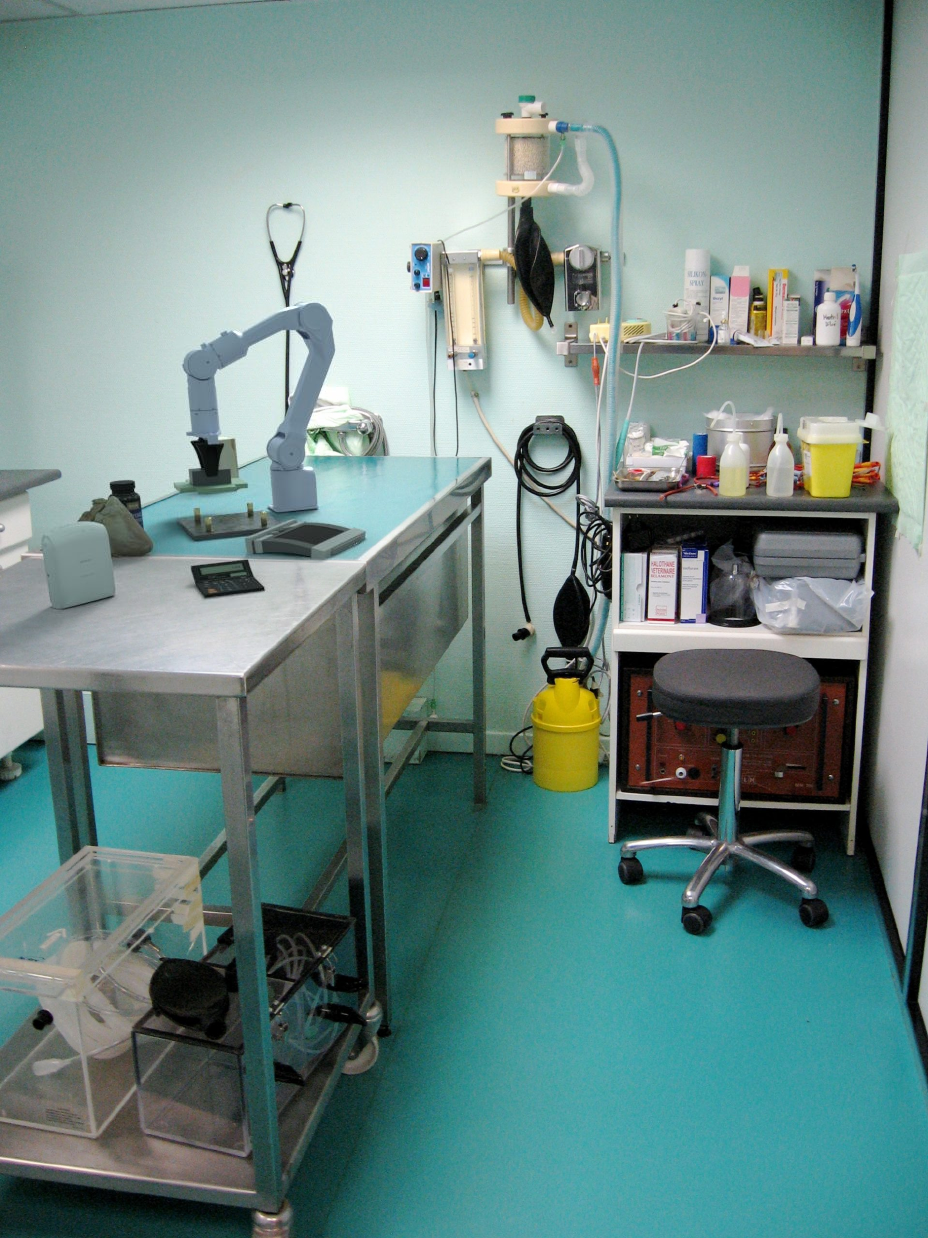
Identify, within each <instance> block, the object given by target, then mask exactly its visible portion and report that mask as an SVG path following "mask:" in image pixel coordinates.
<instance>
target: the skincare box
mask: <svg viewBox="0 0 928 1238" xmlns="http://www.w3.org/2000/svg"><path fill="white" fill-rule="evenodd" d="M218 443H224V447H223V449H222V452H221V455H220V460H219V467H223V466H227V467H228V468H230V470H231V478H240V473H239V464H238V463H239V461H238V454H237V453H238V452H237V443H236V438H235V437H230V436H218Z"/></svg>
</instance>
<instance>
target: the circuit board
mask: <svg viewBox="0 0 928 1238" xmlns="http://www.w3.org/2000/svg"><path fill="white" fill-rule="evenodd" d="M173 488H174V489H175V490H176V491H178V492H179V494H188V493H196V494H197V495H208V494H219V493H232V492H233V493H236V492H237V491H238V490H241V489H249V483H248V482H246V481H245V480H243V479H242V478H240V477H239V478H231V470H230V468H228V467H227V466H223V467H219V469H218V475H217V476H214V477H207V475H206V472H205V469H204V468H201V467H197V468H188V479H185V481H181V482H173Z"/></svg>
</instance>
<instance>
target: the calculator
mask: <svg viewBox="0 0 928 1238" xmlns="http://www.w3.org/2000/svg"><path fill="white" fill-rule="evenodd" d="M251 567H252V566H251V565H250V562H249V559H248V558H247V559H239V560H230V561H222V562H213V563H204V564H196V565H190V571H191V574H192V577H193V580H194V583H195V584H194V585H195V587H196V588H197V589H198V591H199V592H200V594H201V595H202V596H203V597H204V599H210V598H217V597H225V596H226V597H227V596H233V595H242V594H248V593H255V592H257V593H258V592H263V591H264V592H265V589H266V588H265V586H264V585H263V584H262V583H261V581H259V580H258V579H257V578H256V577H255V576H254V573H253V570H252V568H251Z"/></svg>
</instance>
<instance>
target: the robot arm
mask: <svg viewBox="0 0 928 1238" xmlns="http://www.w3.org/2000/svg"><path fill="white" fill-rule="evenodd" d="M333 321H334V320H333V318H332V316H331V315H330V313H329V310H328V309H327V308H326V307H325V305H323V304H322V303H321V302H317V301H311V302H306V301H305V302H304V301H300V302H297V303H295V304H294V305H292V306H286V307H284V308H282V309H280V310H277V311H275V312H273V313H272V314H271V315H269V316H267V317H266V318H263V319H262V320H261V321H259V322H257V323H255V324H254V325H251V327H248V328H247V329H245V330H243V331H242V332H238V331H235V330H230V331H228V330H223V331H222V332H220V336H219V337H217V338H215V339H214V340H211V341H209V342H208V343H206V342H202V343H201V344H200V349H192V350H190V351H189V352H188V353H187V352H186V355H185V356H184V358H183V363H182V364H181V365H182V368H183V371H184V373H185V374H186V375H187V376H186V377H187V379H186V382H187V395H188V407H189V415H190V416H189V418H190V426H191V431H186V432H185V435H186V437H196V438H197V440H195V439H194V440H190V441H189V442H190V444H191V446H192V447H193V450H194V451H195V454H196V456H197V459H198V463H199V466H200V467H199V468H204V469H205V472H206V475H207V477H214V476H217V475H218V469H219V460H220V455H221V452H222V449H223V447H224V443H218V437H220V435H222V430H221V427H220V417H219V416H220V415H219V407H218V395H217V387H216V381H215V375H216V374H217V371H218V370H219V371H220V370H221V371H222V370H223V369H225V368H227V367H228V366H230V365H232V364H233V363H236V362H237V361H240V360H241V359H243V358H244V357H246V356H247V353H248V351H249V348H250V347H251V346H253V345H255V344H257V343H259V342H261V341H263V340H266V339H268V338H269V337H272V336H273V335H276V334H277V333H279V332H281V331H295V332H296V333H297V334H298V335H299V336H300V337H301V338H302V339H303V341H304V344H305V346H306V347H307V349H308V355H307V357H306V360H305V363H304V365H303V368H302V370H301V373H300V376H299V378H298V381H297V384H296V387H295V390H294V392H293V395H292V397H291V399H290V403H289V406H288V409H287V411H286V414H285V416H284V419H283V421H282V422H281V423H280V424H279V426H278V427H277V429H276V431H275V434H274V435H273V436H272V437H271V438H270V439H269V440H268V442H267V444H266V447H265V450H266V451H265V452H266V455H267V457H268V458H269V460H271V464H270V466H269V473H270V485H271V486H270V487H271V496H272V498H271V499H272V504H267V508H269V509H270V510H272V511H273V512H276V513H287V512H294V511H304V510H305V511H306V510H315V509H319V503H318V491H317V477H316V473H315V470H314V468H313V467H312V466H304V461H305V458H306V443H307V441H308V435H307V428H308V426H309V423H310V421H311V418H312V415H313V412H314V411H315V408H316V404H317V402H318V399H319V397H320V393H321V391H322V388H323V386H324V383H325V381H326V380H325V379H326V378H327V375H328V372H329V369H330V367H331V365H332V361H333V358H334V356H335V352H336V345H335V339H334V338H335V337H334V332H333Z"/></svg>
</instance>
